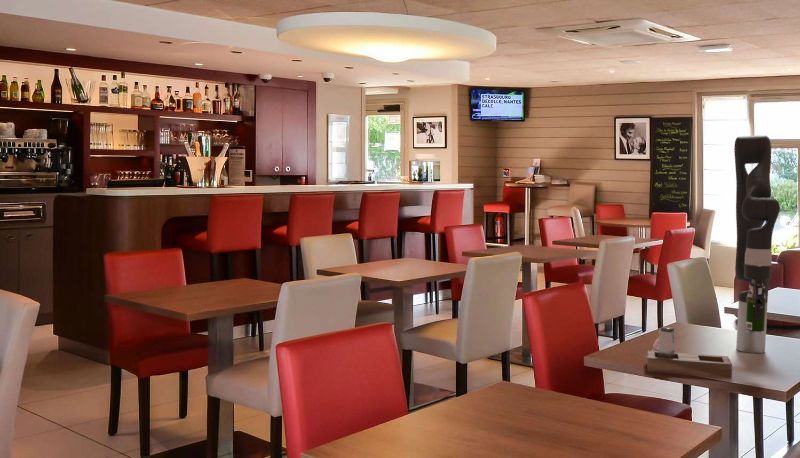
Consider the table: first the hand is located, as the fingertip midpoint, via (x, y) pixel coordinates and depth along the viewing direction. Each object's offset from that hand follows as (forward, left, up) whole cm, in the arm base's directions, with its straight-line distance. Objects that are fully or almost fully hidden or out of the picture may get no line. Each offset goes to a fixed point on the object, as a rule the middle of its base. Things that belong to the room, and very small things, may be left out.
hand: (755, 317), depth 252 cm
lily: (-12, -28, -18) cm, 35 cm away
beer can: (0, 0, -5) cm, 5 cm away
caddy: (+5, -19, -18) cm, 26 cm away
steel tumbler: (+5, -26, -17) cm, 31 cm away
